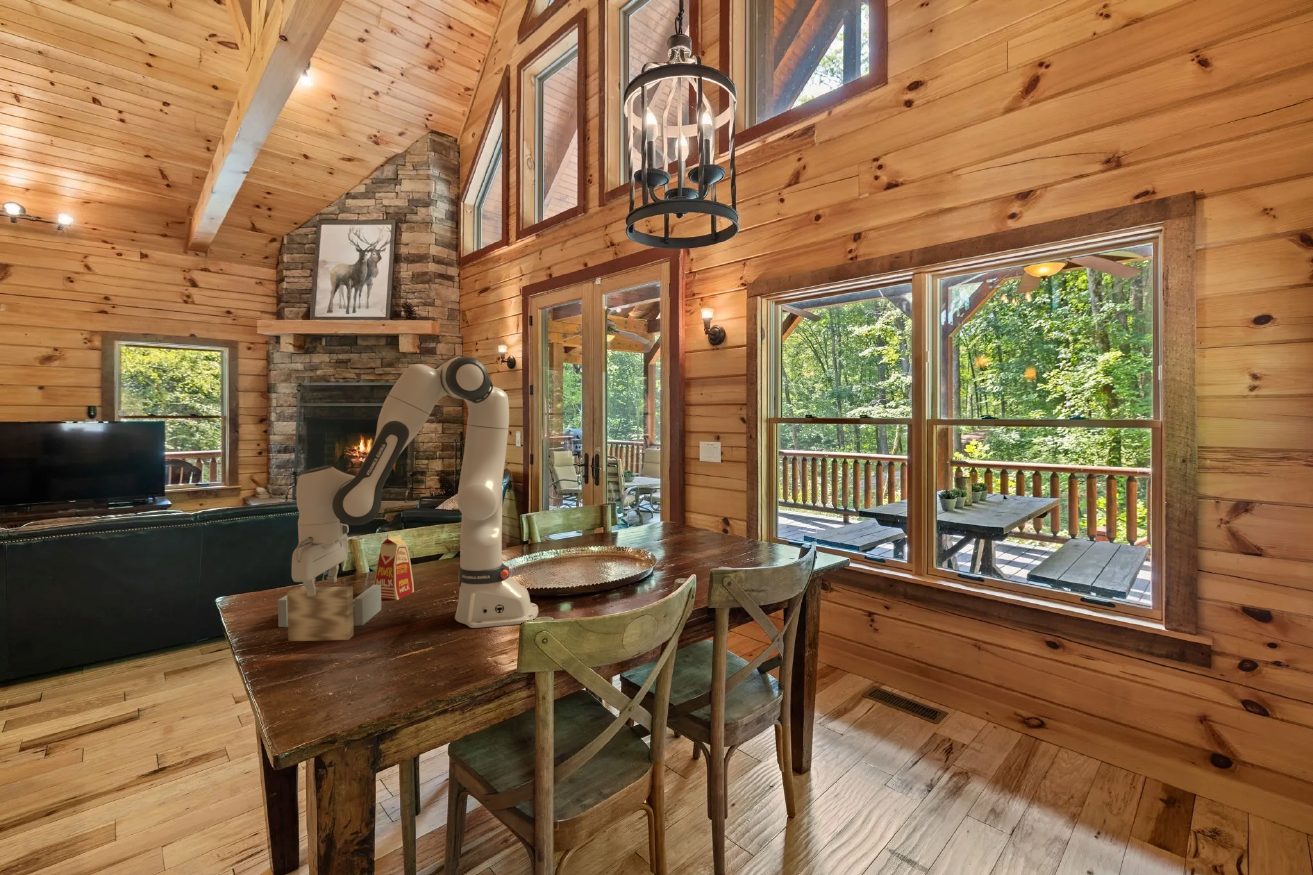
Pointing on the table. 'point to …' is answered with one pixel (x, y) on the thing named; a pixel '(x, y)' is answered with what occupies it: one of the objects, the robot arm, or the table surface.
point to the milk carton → (394, 569)
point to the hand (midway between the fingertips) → (322, 589)
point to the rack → (362, 607)
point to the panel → (320, 614)
